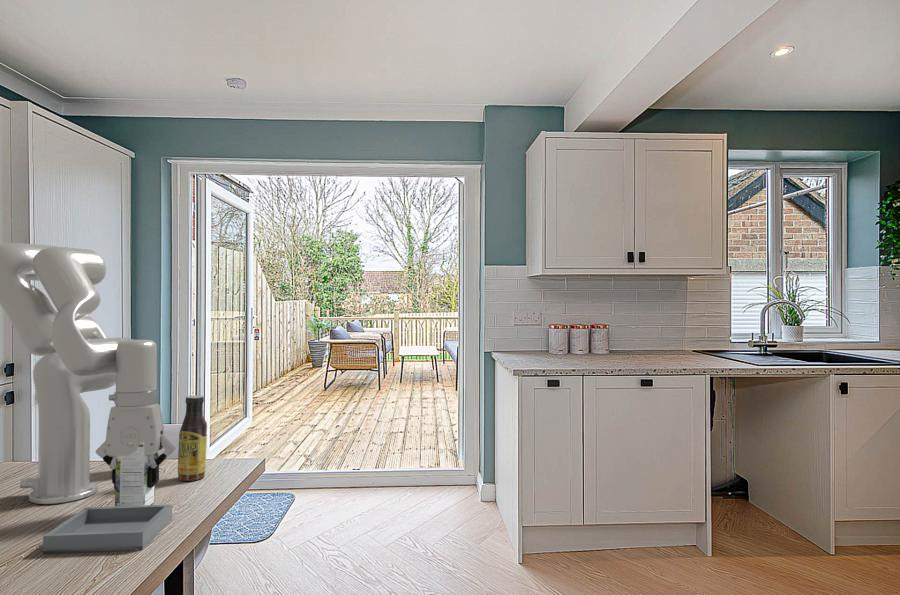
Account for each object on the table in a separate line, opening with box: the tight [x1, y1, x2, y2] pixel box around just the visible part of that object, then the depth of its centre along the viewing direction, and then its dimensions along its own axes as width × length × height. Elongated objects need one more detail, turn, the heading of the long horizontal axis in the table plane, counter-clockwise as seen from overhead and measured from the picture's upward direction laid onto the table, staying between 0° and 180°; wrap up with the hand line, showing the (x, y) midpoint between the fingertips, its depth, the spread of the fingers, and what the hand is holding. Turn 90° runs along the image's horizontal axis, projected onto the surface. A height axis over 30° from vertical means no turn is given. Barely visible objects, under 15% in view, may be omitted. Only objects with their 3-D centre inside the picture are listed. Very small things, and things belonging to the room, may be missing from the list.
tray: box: [42, 504, 173, 555], centre depth 107 cm, size 16×14×3 cm
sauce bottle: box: [177, 394, 208, 482], centre depth 142 cm, size 6×6×20 cm
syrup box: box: [114, 441, 156, 507], centre depth 121 cm, size 6×6×14 cm
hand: (135, 485), depth 121 cm, fingers closed on syrup box, 5 cm apart
